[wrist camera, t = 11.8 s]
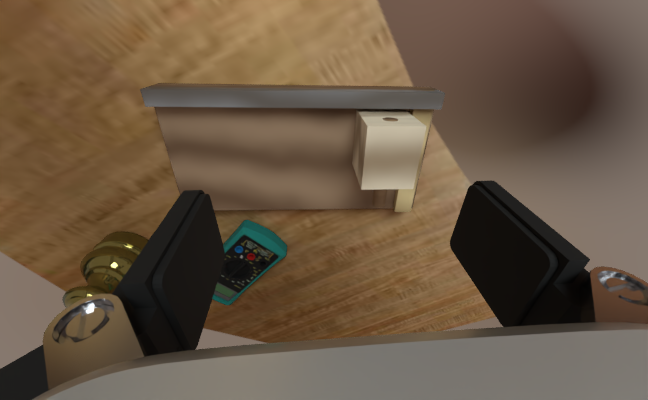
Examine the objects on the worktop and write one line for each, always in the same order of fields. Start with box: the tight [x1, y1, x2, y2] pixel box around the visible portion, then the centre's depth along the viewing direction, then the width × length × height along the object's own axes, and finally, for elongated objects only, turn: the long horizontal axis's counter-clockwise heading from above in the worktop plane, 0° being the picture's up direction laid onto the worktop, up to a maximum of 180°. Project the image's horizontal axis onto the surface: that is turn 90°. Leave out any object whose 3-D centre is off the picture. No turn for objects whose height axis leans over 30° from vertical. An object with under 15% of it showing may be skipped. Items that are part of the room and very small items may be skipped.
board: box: [140, 83, 445, 212], centre depth 30 cm, size 14×28×4 cm, turn 89°
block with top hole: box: [352, 109, 427, 207], centre depth 28 cm, size 9×5×6 cm, turn 179°
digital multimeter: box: [212, 220, 287, 305], centre depth 39 cm, size 7×15×3 cm, turn 136°
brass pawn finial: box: [63, 232, 148, 308], centre depth 34 cm, size 7×7×10 cm
